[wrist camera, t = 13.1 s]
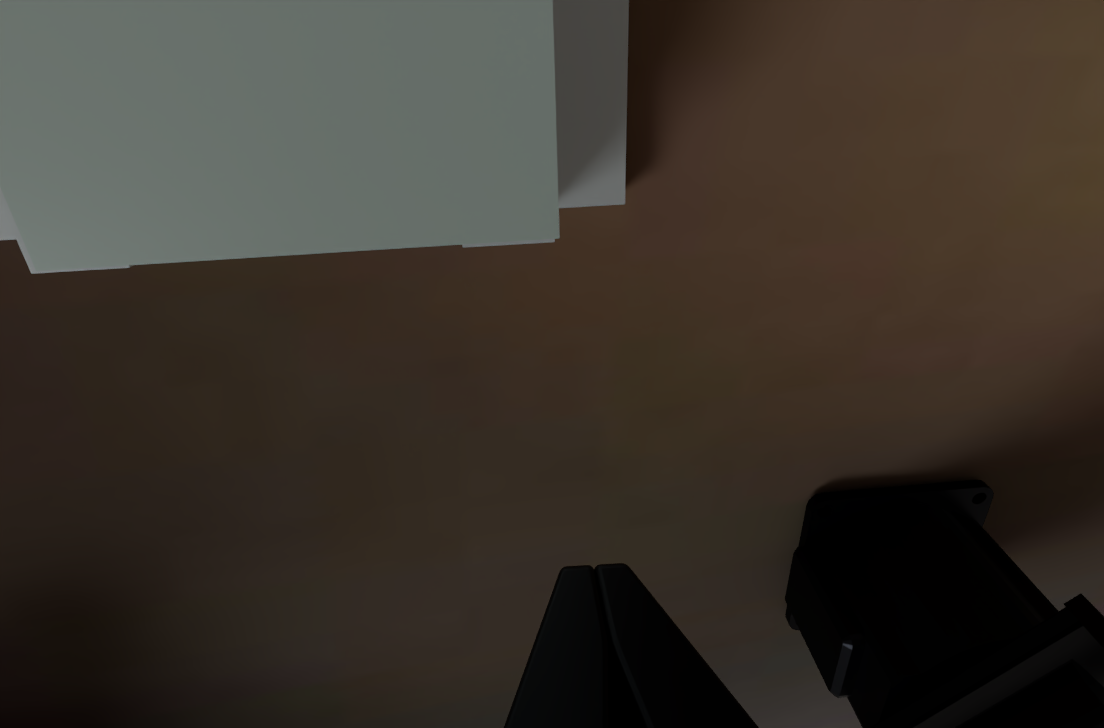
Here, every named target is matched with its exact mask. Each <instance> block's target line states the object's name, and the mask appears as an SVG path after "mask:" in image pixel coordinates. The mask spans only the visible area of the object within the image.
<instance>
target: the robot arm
mask: <svg viewBox="0 0 1104 728" xmlns="http://www.w3.org/2000/svg"><path fill="white" fill-rule="evenodd" d="M993 494H994V493H993V491H992V489H991V488H990V487H989V486H988V485H987V484H986V483H985V482H983V481H981V480H969V481H957V482H945V483H933V484H921V485H909V486H897V487H884V488H872V489H860V490H848V491H836V492H824V493H819V494H816V495H815V496H813V497H812V498H811V499H810V500H809V501H808V503H807V506H806V511H805V516H804V521H803V526H802V532H801V537H800V542H799V547H797V549H796V550H795V552H794V554H793V559H792V564H791V570H790V575H789V580H788V585H787V591H786V596H785V600H786V603H787V609H786V619H787V621H788V623H789V625H790V627H791V628H792V629H794V630H800V632H801V634H802V636H803V638H804V640H805V642H806V644H807V646H808V648H809V650H810V652H811V655H812V657H813V659H814V661H815V663H816V665H817V667H818V669H819V671H820V673H821V675H822V677H823V679H824V681H825V683H826V686H827V688H828V690H829V691H830V692H831V693H832V694H833V695H834V696H836V697H837V698H841V697H847V698H848V700H849V702H850V704H851V706H852V708H853V710H854V712H855V714H856V716H857V718H858V720H859V722H860V724H861V726H862V728H1104V616H1103V615H1102V614H1101V613H1100V612H1099V611H1098V610H1097V609H1096V608H1095V607H1094V606H1093V605H1092V604H1091V603H1090V602H1089V601H1088V600H1087V599H1086V598H1085V597H1084V596H1083V595H1082V594H1079V595H1077V596H1076V597H1074V598H1073V599H1071V600H1069V601H1068V602H1066V603H1064V605H1065V606H1066V607H1065V608H1064V609H1062V610H1060V611H1058V610H1057V609H1056V608H1055V607H1054V606H1053V605H1052V604H1051V602H1050V601H1049V600H1048V599H1047V598H1046V597H1045V596H1044V595H1043V594H1042V593H1041V591H1040V590H1039V589H1038V588H1037V587H1036V586H1035V585H1034V584H1033V583H1032V581H1031V580H1030V579H1029V578H1028V577H1027V576H1026V575H1025V574H1024V573H1023V572H1022V570H1021V569H1020V568H1019V567H1018V566H1017V565H1016V564H1015V563H1014V562H1013V561H1012V559H1011V558H1010V557H1009V556H1008V555H1007V554H1006V553H1005V552H1004V551H1003V550H1002V548H1001V547H1000V546H999V545H998V544H997V543H996V542H995V541H994V540H993V539H992V537H991V536H990V535H989V534H988V533H987V532H986V531H985V530H984V529H983V528H982V526H983V524H984V521H985V518H986V515H987V513H988V510H989V507H990V504H991V502H992V499H993ZM824 506H826V507H824ZM822 507H824V508H823V509H821V508H822ZM504 728H759V727H758V726H757V725H756V724H755V722H754V721H753V720H752V719H751V717H750V716H749V715H748V714H747V712H746V711H745V710H744V709H743V707H742V706H741V705H740V704H739V703H738V701H737V700H736V699H735V698H734V696H733V695H732V694H731V693H730V691H729V690H728V689H727V688H726V686H725V685H724V684H723V683H722V681H721V680H720V679H719V678H718V676H717V675H716V674H715V673H714V671H713V670H712V669H711V668H710V667H709V665H708V664H707V663H706V662H705V660H704V659H703V658H702V657H701V655H700V654H699V653H698V652H697V650H696V649H695V648H694V647H693V645H692V644H691V643H690V642H689V640H688V639H687V638H686V637H685V636H684V634H683V633H682V632H681V631H680V629H679V628H678V627H677V626H676V624H675V623H674V622H673V621H672V619H671V618H670V617H669V616H668V614H667V613H666V612H665V611H664V609H663V608H662V607H661V606H660V604H659V603H658V602H657V601H656V600H655V598H654V597H653V596H652V595H651V593H650V592H649V591H648V590H647V588H646V587H645V586H644V585H643V583H642V582H641V581H640V580H639V578H638V577H637V576H636V575H635V573H634V572H633V571H632V570H631V569H630V567H629V566H628V565H626V564H624V563H617V564H600V565H597V566H596V567H595V569H593V567H592V566H590V565H582V566H566V567H563V568H562V569H561V570H560V572H559V575H558V578H557V580H556V583H555V586H554V589H553V592H552V594H551V597H550V600H549V603H548V606H547V608H546V611H545V614H544V617H543V620H542V622H541V625H540V628H539V631H538V634H537V636H536V639H535V642H534V645H533V648H532V650H531V653H530V656H529V659H528V662H527V664H526V667H525V670H524V673H523V675H522V678H521V681H520V684H519V687H518V689H517V692H516V695H515V698H514V701H513V703H512V706H511V709H510V712H509V715H508V717H507V720H506V723H505V726H504Z"/></svg>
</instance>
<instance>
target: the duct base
mask: <svg viewBox="0 0 1104 728" xmlns="http://www.w3.org/2000/svg"><path fill="white" fill-rule="evenodd" d="M628 23H629V0H553V30H554V65H555V99H556V134H557V168H558V202H559V208H569V207H586V206H604V205H621V204H625V178H626V126H627V74H628ZM13 239H17V242H18V244H19V246H20V249H21V251H22V253H23V256H24V258H25V260H26V262H27V265H28V267H29V269H30V272H31V274H32V273H49V272H66V271H82V270H99V269H115V268H130V267H131V266H132V265H125V266H109V267H93V268H77V269H61V270H45V271H36V269H35V267H34V265H33V262H32V260H31V258H30V255H29V253H28V251H27V248H26V246H25V244H24V241H23V239H22V237H21V234H20V232H19V230H18V227H17V225H16V223H15V220H14V218H13V216H12V213H11V211H10V209H9V206H8V204H7V202H6V199H5V197H4V195H3V193H2V190H1V188H0V240H13ZM546 242H555V239H541V240H525V241H509V242H493V243H477V244H462V245H463V247H480V246H496V245H513V244H530V243H546Z"/></svg>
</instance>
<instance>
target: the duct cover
mask: <svg viewBox="0 0 1104 728" xmlns="http://www.w3.org/2000/svg"><path fill="white" fill-rule="evenodd" d="M0 188H1V190H2V193H3V195H4V197H5V199H6V202H7V204H8V206H9V209H10V211H11V213H12V216H13V218H14V220H15V223H16V225H17V227H18V230H19V232H20V234H21V237H22V239H23V241H24V244H25V246H26V248H27V251H28V253H29V255H30V258H31V260H32V262H33V265H34V267H35V269H36V271H45V270H61V269H77V268H93V267H109V266H125V265H141V264H157V263H173V262H189V261H205V260H221V259H237V258H253V257H269V256H285V255H301V254H317V253H333V252H349V251H365V250H381V249H397V248H413V247H429V246H445V245H461V244H477V243H493V242H509V241H525V240H541V239H557V238H560V237H559V202H558V168H557V134H556V99H555V65H554V30H553V0H0Z"/></svg>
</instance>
